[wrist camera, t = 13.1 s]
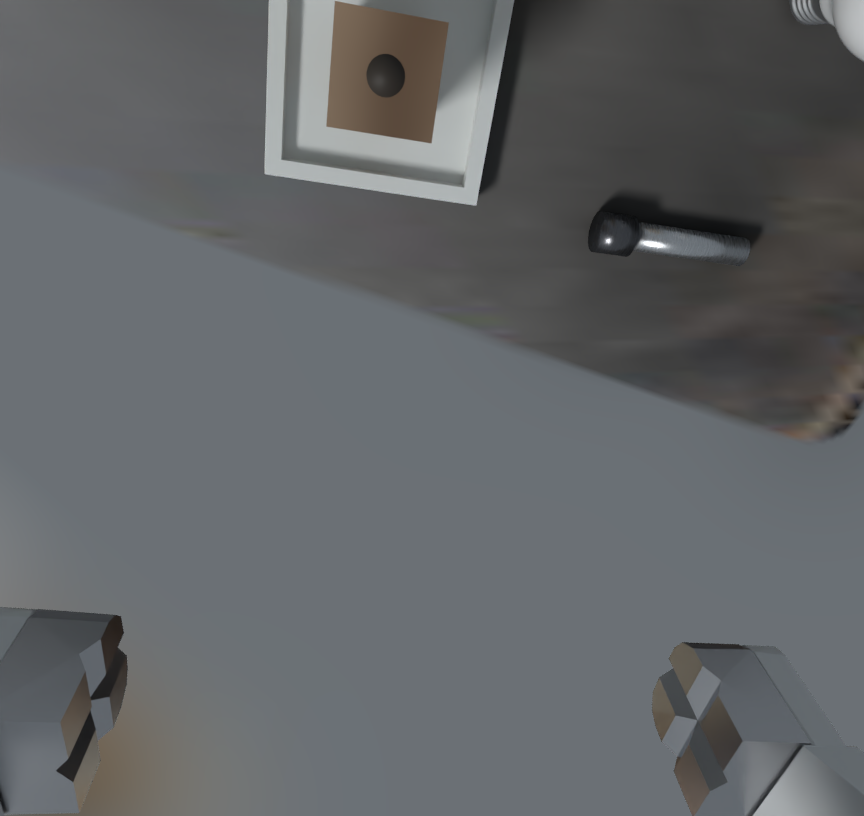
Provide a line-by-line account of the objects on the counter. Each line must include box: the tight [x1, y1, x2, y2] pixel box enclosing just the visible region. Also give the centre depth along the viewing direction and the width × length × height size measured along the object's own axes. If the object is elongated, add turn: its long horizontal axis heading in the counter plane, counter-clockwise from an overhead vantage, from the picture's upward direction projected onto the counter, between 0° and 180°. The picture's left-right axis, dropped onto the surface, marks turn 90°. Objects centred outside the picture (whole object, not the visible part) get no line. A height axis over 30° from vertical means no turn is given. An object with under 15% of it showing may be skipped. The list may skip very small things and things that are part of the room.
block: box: [326, 1, 449, 143], centre depth 27 cm, size 4×4×9 cm
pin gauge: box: [588, 211, 750, 266], centre depth 35 cm, size 9×2×2 cm, turn 81°
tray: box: [265, 0, 514, 206], centre depth 30 cm, size 11×11×2 cm
